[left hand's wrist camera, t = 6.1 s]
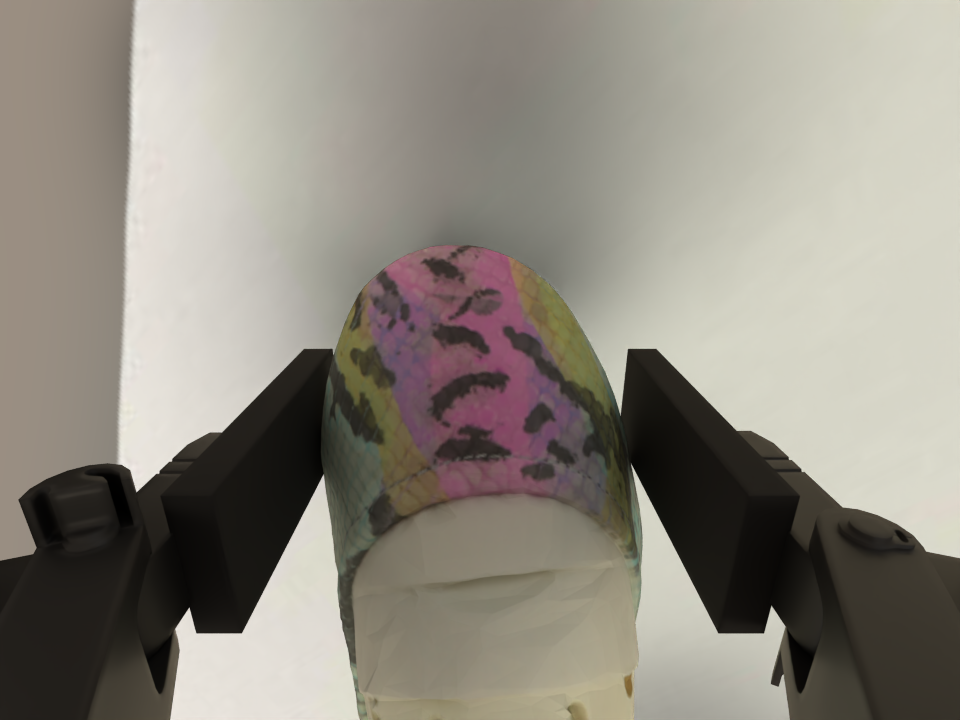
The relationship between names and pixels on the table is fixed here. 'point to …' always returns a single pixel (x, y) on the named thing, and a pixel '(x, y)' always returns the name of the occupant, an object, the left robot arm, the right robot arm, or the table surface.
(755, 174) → the table surface
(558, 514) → the ballet flat
